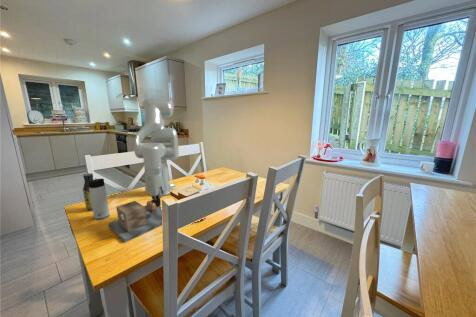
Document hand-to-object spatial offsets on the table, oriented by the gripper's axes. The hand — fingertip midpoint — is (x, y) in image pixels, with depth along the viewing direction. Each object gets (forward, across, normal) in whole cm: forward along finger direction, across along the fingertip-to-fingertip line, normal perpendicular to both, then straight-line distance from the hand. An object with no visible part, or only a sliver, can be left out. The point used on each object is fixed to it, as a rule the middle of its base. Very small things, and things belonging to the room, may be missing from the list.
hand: (156, 206), depth 96 cm
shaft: (+2, 0, -9) cm, 9 cm away
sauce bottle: (+6, -35, -18) cm, 40 cm away
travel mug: (+6, -21, -18) cm, 28 cm away
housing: (+6, 0, -7) cm, 9 cm away
